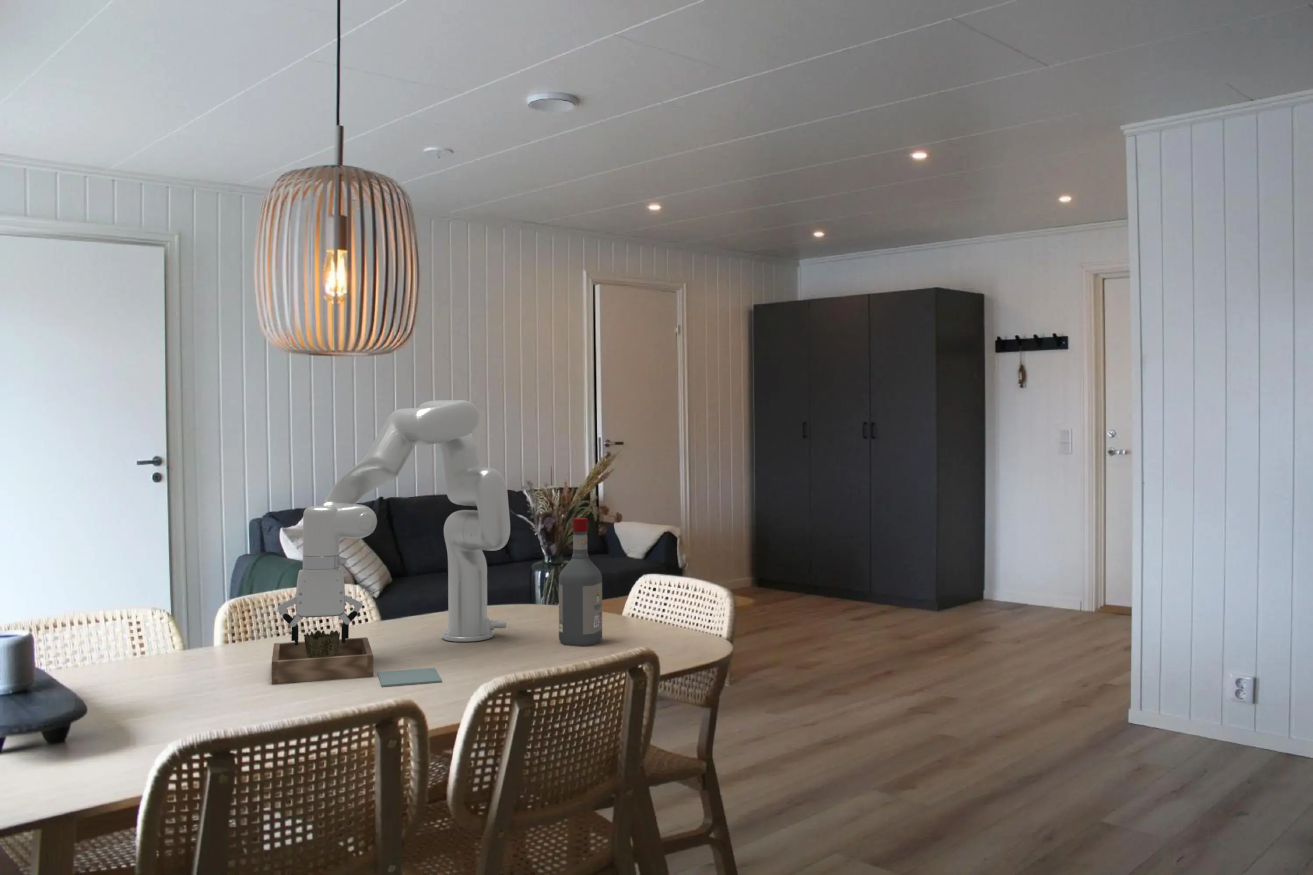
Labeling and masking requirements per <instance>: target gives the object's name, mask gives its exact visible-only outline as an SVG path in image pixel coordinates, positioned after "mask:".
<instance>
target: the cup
mask: <svg viewBox="0 0 1313 875" xmlns="http://www.w3.org/2000/svg"><path fill="white" fill-rule="evenodd" d="M340 636H341V632H340V631H338V630H335V631H334V630H333V629H332V630H330V632H329V633H326V632H325V630H322V632H321V631H320V630H319V629H318V630H316V631H314V632H313V631H310V634H309V633H308V632H306V633H304V634H303V638H304V641H305V648H306V654H307V657H308V658H320V657H335V656H337V653H338V647H339V639H341V637H340Z"/></svg>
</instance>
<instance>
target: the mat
mask: <svg viewBox="0 0 1313 875" xmlns="http://www.w3.org/2000/svg"><path fill="white" fill-rule="evenodd" d="M377 676H378V680H379V683H380V685H381V688H384V687H385V688H386V687H399V686H411V685H412V686H413V685H422V684H424V685H425V684H435V683H437V684H438V683H443V680H442V679H443V678H441V676H440V674H439V672H438V671H437V669H436V667H430V668H429V667H426V668H416V669H415V668H414V669H401V670H390V671H388V670H387V671H377Z"/></svg>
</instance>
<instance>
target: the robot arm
mask: <svg viewBox="0 0 1313 875" xmlns="http://www.w3.org/2000/svg"><path fill="white" fill-rule="evenodd" d="M479 423H480V413H479V409H478V408H477V407H476V405H475V404H473V403H472V402H471V401H468V400H465V399H453V400H452V399H449V400H447V399H446V400H445V399H442V400H441V399H440V400H439V399H438V400H429V401H425V402H423V403H422V404H420V405H419V406H418V407H417V408H416V407H411V408H409V407H408V408H399V409H395V410H394V411H393V412H392V413H390V414H389V416H388V417H387V419H386V420H385V422H384V423H383V426H381V429H380V431H379V432H378V434H377V435H376V437H375V439H374V441H373V443H372V444H371V446H370V447H369V450H368V451H367V453H366V455H365V457H364V458H362V460H361V461H360V462H358V463H356V464H355V465H354V466H353V467H352V468H350V469H349V470H348V471H347V472H346V473H345V474H344V475H342V477H341V478H339V479H338V480H337V481H336V482H335V484H334V485H333V486H332V487H331V489H330V490H329V492H328V494H327V495H326V497H325V499H324V501H323V502H322V504H321V505H314V506H309V507H306V508H305V509H304V511H303V516H302V569H299V571H298V573H297V581H296V589H295V596H294V597H292V598H290V599H288V600H286V601H284V602H282V603H280V604H279V605H278V606H277V610H278V612H279V613H280V615H281V617H282V619H283V621H285V622H286V623H287V624H288V625H290V628H291V641H290V642H295V646H296V645H298V642H299V629H300V628H299V625H298V623H299V622H300V621H301V620H302V619H303V618H327V617H339V618H340V620H341V621H342V623H341V633H340V636H341V637H340V639H341V641H342V643H345V639H349V638H350V637H349V636H350V633H349V632H350V631H349V630H350V625H349V624H350V623H351V622H352V621H353V620H354V619H355V618H357V616H358V614H359V612H360V610H361V609H362V607H363V602H361V601H360V600H357V599H355V598H353V597H351V596H349V595H346V588H345V587H346V586H345V584H346V583H345V577H344V570H343V569H342V568H340V566H341V565H346V564H347V557H343V556H340V539H342V538H343V539H344V538H347V539H364V538H366V537H368V536H370V535H371V534H373V533H374V531H376V530H375V529H376V527H377V524H378V519H377V515H376V513H375V511H374V510H373V509H372V508H370V507H369V506H367V505H364V504H358V502H359V501H360V500H361V499H362V498H363V497H365V495H367V494H368V493H370V492H372V491H373V490H375V489H377V488H380V487H382V486H384V485H386V484H389V483H390V482H392V481H394V480H395V479H397V478H398V476H399V475H400V474H401V471H402V469H403V468H404V465H406V462H407V460H408V459H409V457H410V455H411V454H412V451H413V450H414V448H415V446H417V445H421V446H422V445H423V446H424V445H426V446H431V445H436V444H438V446H439V448H440V451H441V454H442V460H443V463H442V464H443V471H444V472H443V473H444V483H445V491H446V496H447V498H448V500H449V501H450V502H451V503H453V504H455V505H459V506H460V505H461V506H471V507H476V508H477V510H475V509H471V510H470V509H461V510H457V511H454V512H452V513H451V514H450V515H449V516H447V518H446V520H445V522H444V525H443V537H444V542H445V547H446V551H447V572H448V573H447V574H448V576H447V577H448V578H447V580H448V581H447V583H448V584H447V585H448V586H447V589H448V594H447V597H448V598H447V599H448V600H447V601H448V602H447V603H448V604H447V605H448V607H447V608H448V614H447V616H448V617H447V618H448V621H447V622H448V630H446V631H443V632H442V634H441V637H442V639H443V640H444V641H450V642H463V643H465V642H467V643H469V642H479V641H486V640H489V639H491V638H493V637H494V634H495V633H494V629H507V620H499V619H497V620H493V619H490V618H489V617H488V563H487V558H486V556H485V554H484V552H483V551H493V552H494V551H498V550H499V551H500V550H502V548H504V547H505V546H506V545H507V544H508V541H509V539H510V536H511V520H510V519H511V518H510V508H509V495H508V488H507V483H506V480H505V478H504V476H503V475H502V474H501V473H500V471H498V470H497V469H495V468H492V467H482V466H481V467H480V462H479V455H478V448H477V445H476V441H475V439H474V437H473V435H472V433H473V432H475V430H476V429H477V427H478V426H479ZM346 603H347V604H349V605H352V606H353V607H354V608H353V610H352V611H351V612H350V613H349V614H348V615H347V614H346V613H345V610H346ZM294 605H295V613H296V614H295V615H294V616H293V617H292V616H291V615H290V614H289V613H288V611H287V609H288V608H290V607H292V606H294Z"/></svg>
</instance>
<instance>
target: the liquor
mask: <svg viewBox="0 0 1313 875" xmlns="http://www.w3.org/2000/svg"><path fill="white" fill-rule="evenodd" d="M588 522H589V519H588V518H586V517H585V518H584V517H577V518H576V517H575V518H572V533H573V534H572V535H573V537H572V538H573V540H572V543H573V544H572V547H573V549H572V555H571V559H570V560H569V561H568V562H567V564H566V565H565V566H564V567H563V569H562V570H561V571H560V573H559V576H558V640H559V642H560V643H561V645H562V644H563V645H564V646H576V647H587V646H594V645H596V644H599V643H600V642H601V641H602V639H603V575H602V572H601V570H600V569H599V568H598V567H597V566H596V565H595V563H594V562H593V561H592V560H591V558H589V557H590V556H589V553H588V531H589V530H588V529H589V523H588ZM599 641H600V642H599Z"/></svg>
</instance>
